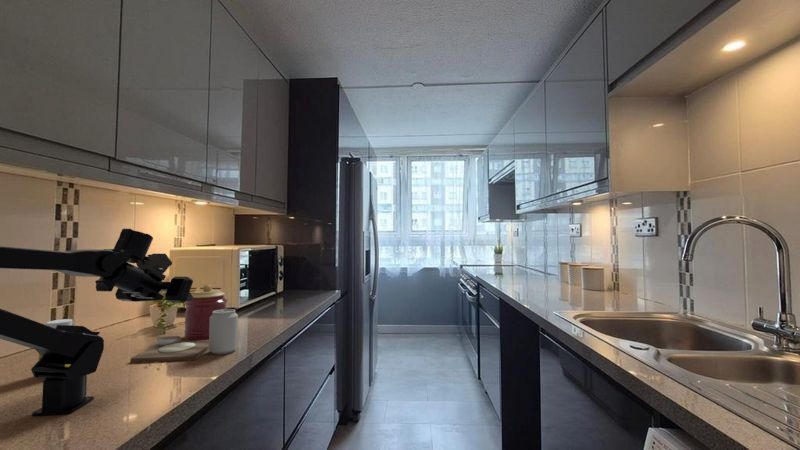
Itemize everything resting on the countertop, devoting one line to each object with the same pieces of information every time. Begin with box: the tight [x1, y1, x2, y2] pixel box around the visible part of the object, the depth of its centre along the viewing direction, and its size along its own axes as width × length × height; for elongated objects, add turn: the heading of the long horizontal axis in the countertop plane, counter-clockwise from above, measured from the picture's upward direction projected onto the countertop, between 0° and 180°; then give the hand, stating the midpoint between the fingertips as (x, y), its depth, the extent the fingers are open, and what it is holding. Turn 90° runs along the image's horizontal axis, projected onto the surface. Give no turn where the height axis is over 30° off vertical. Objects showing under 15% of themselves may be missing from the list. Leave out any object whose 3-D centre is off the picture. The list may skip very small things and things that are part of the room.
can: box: [208, 308, 239, 355], centre depth 104 cm, size 8×8×12 cm
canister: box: [183, 283, 228, 341], centre depth 121 cm, size 13×13×18 cm
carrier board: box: [130, 335, 209, 364], centre depth 103 cm, size 16×16×3 cm
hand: (177, 298), depth 96 cm, fingers open, 9 cm apart
